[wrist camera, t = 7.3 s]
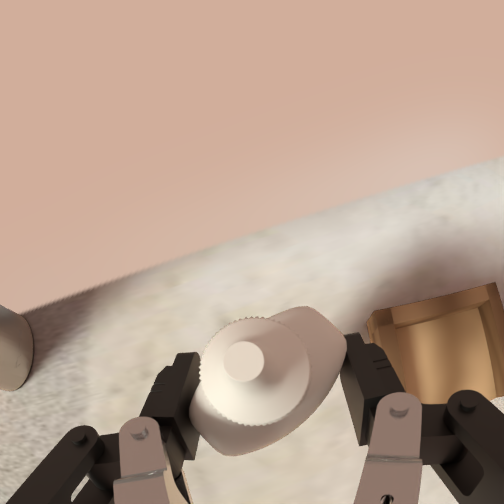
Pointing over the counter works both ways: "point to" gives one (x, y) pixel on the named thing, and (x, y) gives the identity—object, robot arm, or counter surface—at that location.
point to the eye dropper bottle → (265, 378)
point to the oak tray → (445, 344)
